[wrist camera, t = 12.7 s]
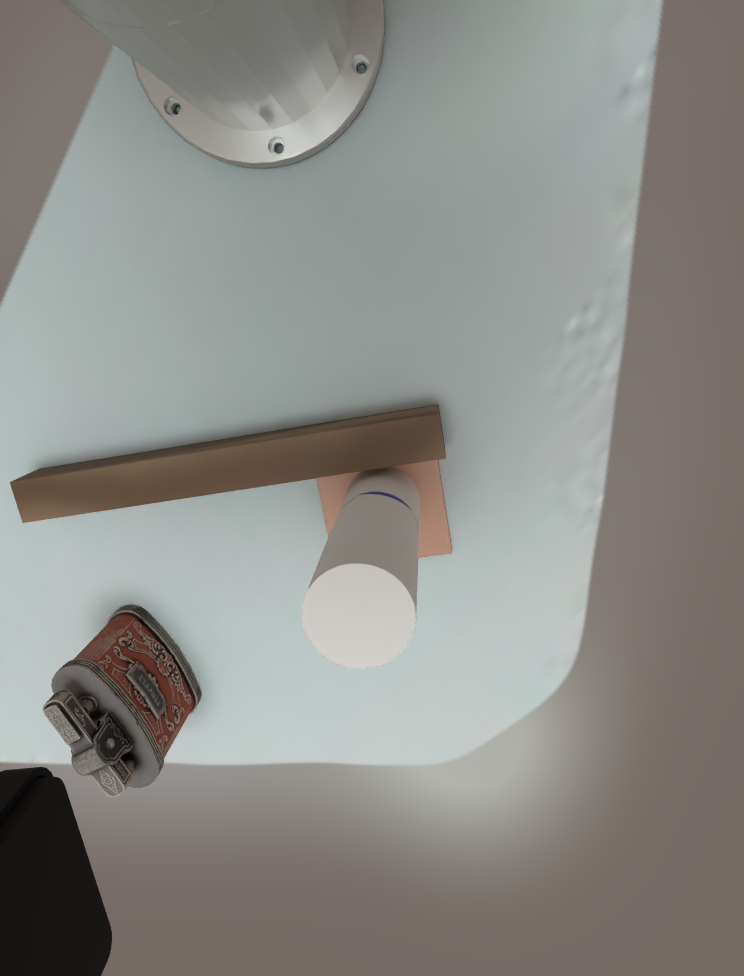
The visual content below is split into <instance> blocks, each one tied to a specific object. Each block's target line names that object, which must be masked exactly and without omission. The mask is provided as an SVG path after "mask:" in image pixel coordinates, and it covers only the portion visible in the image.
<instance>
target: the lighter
mask: <svg viewBox="0 0 744 976" xmlns="http://www.w3.org/2000/svg"><path fill="white" fill-rule="evenodd" d="M51 686H52V690H53V693H54V695H53V696H52V697H51V698H50V699H49V700H48V701H47V702H46V704H45V705H44V706H43V712H44V714H45V716H46V717H47V718H48V720H49V721H50V722H51V724H52V725H53V726H54V728H55V729H56V730H57V732H58V733H59V734H60V736H61V737H62V738H63V740H64V741H65V742H66V744H67V745H69V747H70V748H71V749H72V750H71V752H72V765H73V767H74V768H75V770H76V771H77V772H78V774H80V775H82V776H85V775H89V776H92V777H93V778H94V779H95V781H96V782H97V784H98V785H99V786H100V788H101V789H102V790H103V792H104V793H105V794H106V795H107V796H109V797H116V796H119V795H121V794H122V793H123V792H124V791H125V789H126V787H127V786H130V787H133V788H135V787H136V788H141V787H145V786H148V785H150V784H151V783H152V782H154V781H155V779H156V778H157V776H158V775H159V773H160V771H161V769H162V768H163V764H164V757H165V756H166V754H167V752H168V750H169V749H170V747H171V745H172V743H173V741H174V740H175V738H176V736H177V734H178V733H179V731H180V729H181V727H182V726H183V724H184V722H185V720H186V718H187V717H188V715H189V714H191V713H192V712H193V711H194V710H195V708H196V707H197V705H198V703H199V701H200V699H201V689H200V687H199V684H198V682H197V680H196V678H195V675H194V673H193V671H192V669H191V667H190V665H189V664H188V662H187V660H186V659H185V657H184V655H183V654H182V652H181V650H180V649H179V647H178V646H177V645H176V643H175V642H174V641H173V639H172V638H171V637H170V636H169V634H168V633H167V632H166V631H165V629H164V628H163V627H162V626H161V625H160V624H159V623H158V622H157V621H156V620H155V619H154V618H153V617H152V616H151V615H150V614H149V613H148V612H147V611H146V610H145V609H143V608H142V607H140V606H137V605H126V606H123V607H121V608H119V609H118V610H117V611H116V612H115V613H114V614H113V615H112V616H111V617H110V618H109V620H108V622H107V625H106V626H105V627H104V628H103V629H102V630H101V632H100V633H99V634H98V635H97V636H96V637H95V638H94V639H93V640H92V641H91V642H90V643H89V644H88V645H87V646H86V647H85V648H84V649H83V650H82V651H81V652H80V653H79V654H78V655H77V657H76V658H75V659H74V660H71V661H69V662H67V663H66V664H65V665H63V666H62V667H61V668H60V669H59V670H58V671H57V672H56V674H55V676H54V677H53V679H52V685H51Z"/></svg>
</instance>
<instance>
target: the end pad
mask: <svg viewBox="0 0 744 976" xmlns="http://www.w3.org/2000/svg"><path fill="white" fill-rule="evenodd" d="M393 468H396V469H398V470H400V471H402V472H404V473H405V474H406V475H408V476H409V477H410V478H411V479H412V481H413V482H414V484H415V485H416V488H417V490H418V493H419V497H420V513H419V544H418V558H419V557H427V556H434V555H441V554H449V553H452V548H451V542H450V536H449V529H448V523H447V516H446V510H445V503H444V497H443V490H442V484H441V478H440V471H439V465H438V460H432V461H426V462H419V463H412V464H406V465H399V466H393ZM361 472H362V471H360V472H353V473H347V474H340V475H334V476H327V477H321V478H317V482H318V487H319V492H320V497H321V502H322V507H323V512H324V517H325V522H326V527H327V532H328V536H329V535H330V532H331V530H332V527H333V525H334V522H335V520H336V518H337V515H338V512H339V510H340V507H341V505H342V502H343V500H344V497H345V495H346V492H347V490H348V487H349V485H350V483H351V482H352V480H353V479H354V478H355V477H356V476H357V475H358V474H359V473H361Z"/></svg>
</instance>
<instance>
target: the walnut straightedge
mask: <svg viewBox="0 0 744 976" xmlns="http://www.w3.org/2000/svg"><path fill="white" fill-rule="evenodd" d="M445 458H446V454H445V445H444V439H443V432H442V425H441V419H440V412H439V406H438V405H432V406H426V407H420V408H414V409H407V410H401V411H395V412H389V413H383V414H376V415H370V416H364V417H358V418H352V419H346V420H339V421H333V422H327V423H321V424H315V425H308V426H302V427H296V428H290V429H284V430H278V431H271V432H265V433H259V434H253V435H247V436H240V437H234V438H228V439H222V440H216V441H210V442H203V443H197V444H191V445H185V446H179V447H172V448H166V449H160V450H154V451H148V452H142V453H135V454H129V455H123V456H117V457H111V458H104V459H98V460H92V461H86V462H80V463H74V464H67V465H61V466H55V467H49V468H43V469H38V470H36V471H33V472H31V473H29V474H27V475H25V476H22V477H20V478H18V479H16V480H14V481H12V482H10V484H11V488H12V491H13V494H14V497H15V500H16V503H17V506H18V510H19V513H20V516H21V519H22V522H23V523H25V522H32V521H39V520H45V519H52V518H58V517H65V516H71V515H78V514H85V513H91V512H98V511H104V510H111V509H117V508H124V507H130V506H137V505H144V504H150V503H157V502H163V501H170V500H176V499H183V498H189V497H196V496H203V495H209V494H216V493H222V492H229V491H235V490H242V489H248V488H255V487H262V486H268V485H275V484H281V483H288V482H294V481H301V480H307V479H314V478H321V477H327V476H334V475H340V474H347V473H353V472H360V471H366V470H373V469H380V468H386V467H393V466H399V465H406V464H412V463H419V462H426V461H432V460H439V459H445Z"/></svg>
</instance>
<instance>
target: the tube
mask: <svg viewBox="0 0 744 976" xmlns="http://www.w3.org/2000/svg"><path fill="white" fill-rule="evenodd" d="M419 513H420V497H419V493H418V490H417V488H416V485H415V484H414V482H413V481H412V479H411V478H410V477H409V476H408V475H406V474H405V473H404V472H402V471H400V470H398V469H396V468H393V467H386V468H380V469H373V470H366V471H362V472H361V473H359V474H358V475H357V476H356V477H355V478H354V479H353V480H352V482H351V483H350V485H349V487H348V490H347V492H346V495H345V497H344V500H343V502H342V505H341V507H340V510H339V512H338V515H337V518H336V520H335V522H334V525H333V527H332V530H331V532H330V535H329V537H328V540H327V542H326V545H325V547H324V550H323V552H322V555H321V557H320V560H319V562H318V565H317V568H316V570H315V573H314V575H313V578H312V580H311V583H310V585H309V588H308V590H307V593H306V596H305V598H304V601H303V606H302V623H303V626H304V630H305V633H306V635H307V637H308V639H309V641H310V642H311V643H312V645H313V646H314V647H315V648H316V650H317V651H319V652H320V653H321V654H322V655H323V656H324V657H326V658H328V659H329V660H331V661H333V662H334V663H337V664H340V665H342V666H346V667H351V668H371V667H376V666H380V665H382V664H385V663H388V662H389V661H391V660H392V659H394V658H396V657H397V656H398V655H399V654H400V653H401V652H402V651H404V649H405V648H406V646H407V645H408V644H409V642H410V640H411V638H412V636H413V633H414V630H415V624H416V606H417V575H418V544H419Z"/></svg>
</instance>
